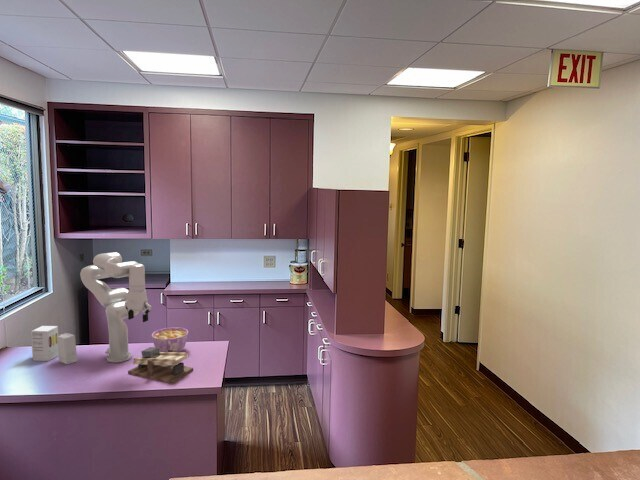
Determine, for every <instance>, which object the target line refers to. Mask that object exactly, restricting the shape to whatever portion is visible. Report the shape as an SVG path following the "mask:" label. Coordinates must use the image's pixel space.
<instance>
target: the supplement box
mask: <svg viewBox="0 0 640 480" xmlns="http://www.w3.org/2000/svg"><path fill="white" fill-rule="evenodd" d="M58 335H59V327H58V325H41V326H38V327H37V328H34V329H33V330H31V331H30V336H31V350H32V351H31V352H32V353H31V355H32V361H33V362H34V361H36V362H39V361H40V362H50V361H52V360H53V359H55V358H57V357H59V353H58V344H57V336H58Z"/></svg>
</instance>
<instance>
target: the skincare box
mask: <svg viewBox="0 0 640 480" xmlns="http://www.w3.org/2000/svg"><path fill="white" fill-rule="evenodd" d="M57 344H58V353H59V355H58V361H59V362H60V363H62V364H65V365H69V364H70V365H71V364H72V363H76V362H78V356H77V355H78V353H77V344H76V335H75V334H72V333H69V332H64V333H61V334H58V336H57Z"/></svg>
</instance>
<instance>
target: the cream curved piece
mask: <svg viewBox="0 0 640 480" xmlns="http://www.w3.org/2000/svg"><path fill="white" fill-rule="evenodd" d="M187 358H189V354H188V352H182V351H179V352H160V356H158V357H156V358H142V356H141V357H134V358H133V361H132V363H133V365H138V364H143V365H148V364H147V360H152V365H176V364H178V363H180V362H182V361H184V360H186V359H187Z"/></svg>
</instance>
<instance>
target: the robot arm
mask: <svg viewBox="0 0 640 480" xmlns="http://www.w3.org/2000/svg"><path fill="white" fill-rule="evenodd" d="M92 263H93V264H91V265H87V266H85V267H83V268H82V269H81V270H80V273H79V275H80V280H81V281H82V284H83V286H85V288H86V289H88V291H90V292H91V293H92V295H94V298H96V300H97V301H98V302H99V304H101V306H103V308H105V316H106V319H107V321H106V322H107V327H108V344H109V345H108V347H109V348H107V350H106V351H105V352H104V353H105V354H108V356H106V361H107V362H108V363H114V364H115V363H116V364H117V363H122V362H123V363H124V362H126V361H129V360H130V359H132V358H133V357H132V356H133V354H132V353H131V352H130V351H129V350H130V349H129V332H128V331H129V329H128V325H127V323H126V322H125V321H124V320H125V319H128V320H132V319H134V318H135V316H137V315H138V314H140V312H141V313H142V322H143V323H146V322H148V321H149V313H150V312H151V311H152V309H153V308H152V307H153V306H152V305H151V304H149V303H148V301H149V300H148V295H147V290H146V274H145V273H146V270H145V269H146V268H145V265H144V264H142V263H139V262H137V261H134V260H132V261H131V260H130V261H123V257H122V255H121V253H119V252H117V251H114V252H113V251H111V252H104V253H99V254H96V255H95V256H94V258H93V260H92ZM125 277H126V278H128V287H129V289H127V288H125V287H118V288H111V287H110V286H109V285H108V284H107V283H105V281H102V280H103V279H107V278H113V279H121V278H125ZM101 279H102V280H101Z"/></svg>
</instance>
